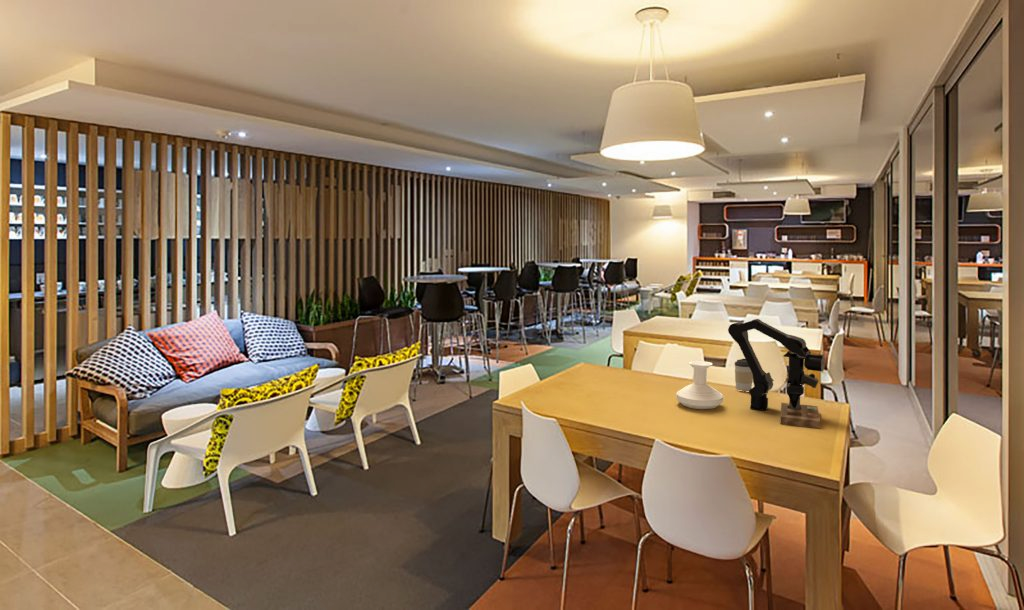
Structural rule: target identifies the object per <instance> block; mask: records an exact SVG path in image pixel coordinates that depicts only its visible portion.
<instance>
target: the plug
mask: <svg viewBox="0 0 1024 610" xmlns="http://www.w3.org/2000/svg"><path fill="white" fill-rule="evenodd" d="M788 400H789V401H788V403H789V409H798V410H800V404H801V396H799V399H798V402H797V405H796V408H793V406H792V404H791V401H790V398H789V399H788Z"/></svg>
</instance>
